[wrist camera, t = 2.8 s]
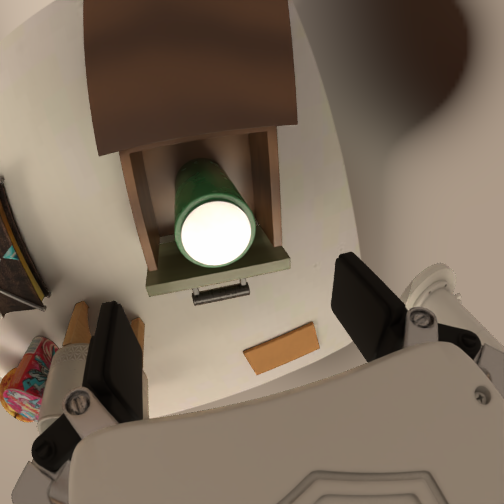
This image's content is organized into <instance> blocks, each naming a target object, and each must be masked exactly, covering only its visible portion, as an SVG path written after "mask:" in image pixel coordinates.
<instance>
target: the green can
mask: <svg viewBox="0 0 504 504" xmlns="http://www.w3.org/2000/svg"><path fill="white" fill-rule="evenodd" d="M255 234H256V222H255V218H254V215H253V213H252V211H251V209H250V208H249V206H248V205H247V203H246V202H245V200H244V199H243V197H242V196H241V194H240V193H239V191H238V190H237V188H236V187H235V186H234V184H233V183H232V181H231V180H230V178H229V177H228V175H227V174H226V172H225V171H224V169H223V168H222V167H221V166H220V165H219V164H218V163H217V162H215V161H214V160H211V159H208V158H196V159H193V160H190V161H188V162H187V163H185V164H184V165H183V166H182V167H181V168H180V170H179V171H178V173H177V175H176V179H175V207H174V236H175V241H176V244H177V247H178V249H179V250H180V252H181V253H182V254H183V256H184V257H185V258H187V259H188V260H189V261H191V262H192V263H194V264H196V265H199V266H202V267H208V268H217V267H223V266H227V265H229V264H232V263H234V262H236V261H237V260H239V259H240V258H241V257H242V256H244V255H245V253H246V252H247V251H248V250H249V248H250V247H251V245H252V243H253V241H254V238H255Z"/></svg>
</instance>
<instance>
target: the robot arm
mask: <svg viewBox="0 0 504 504" xmlns="http://www.w3.org/2000/svg"><path fill="white" fill-rule="evenodd" d="M450 290H451V289H450V285H449V283H448V282H447V281H445V280H439V281H436V282H434V283H433V284H431V285H430V286H428V287H427V288H426V289H425V290H424V291H423V292H422V293H421V294H420V296H419V297H418V298H417V300H416V301H415V303H414V305H413V307H412V308H411V309H409V310H407V308H406V307H405V306H406V305H405V304H404V303H403V302H402V301H401V300H400V299H399V298H398V297H397V296H396V295H395V294H394V293H393V292H392V291H391V290H390V289H389V288H388V287H387V286H386V285H385V284H384V282H383V281H382V280H380V278H379V277H378V276H377V275H375V274H374V272H373V271H372V270H371V269H369V267H367V266H366V264H364V263H363V262H362V261H361V260H360V259H359V258H358V257H357V256H356V255H355V254H354V253H353V252H348V253H344V254H340V255H339V258H337V259H336V262H335V273H334V282H333V291H332V300H331V308H332V311H333V313H334V314H335V315H336V317H337V318H338V320H339V321H340V323H341V324H342V326H343V327H344V328H345V330H346V331H347V333H348V334H349V336H350V337H351V339H352V340H353V342H354V343H355V344H356V346H357V347H358V349H359V350H360V352H361V353H362V355H363V356H364V358H365V359H366V361H367V362H368V363H365V364H363V365H360V366H358V367H356V368H353V369H350V370H347V371H345V372H342V373H339V374H336V375H334V376H331V377H328V378H325V379H322V380H319V381H316V382H313V383H310V384H307V385H303V386H300V387H297V388H294V389H290V390H287V391H283V392H280V393H277V394H273V395H269V396H266V397H262V398H258V399H254V400H250V401H245V402H241V403H237V404H232V405H228V406H223V407H219V408H213V409H208V410H203V411H197V412H191V413H186V414H179V415H173V416H167V417H160V418H152V419H144V420H143V393H142V363H143V353H142V348H141V346H140V344H139V342H138V340H137V338H136V336H135V334H134V331H133V329H132V327H131V325H130V323H129V321H128V319H127V316H126V314H125V312H124V310H123V308H122V305H121V304H117V303H116V301H111V302H105V303H102V305H101V309H100V313H99V318H98V322H97V327H96V331H95V336H92V337H91V339H90V343H89V348H88V353H87V358H86V364H85V369H84V375H83V382H82V387H76V388H73V389H71V390H70V391H68V392H67V393H66V395H65V396H64V398H63V401H62V410H63V412H64V413H63V414H62V415H61V416H60V417H59V418H58V419H57V420H56V421H55V422H54V423H52V424H51V425H50V426H49V427H48V428H47V429H46V430H45V431H44V432H43V433H42V434H41V435H40V436H39V437H38V438H37V439H36V440H35V441H34V443H33V445H32V457H33V460H32V462H30V461H28V463H27V465H26V466H25V468H24V470H23V472H22V474H21V476H20V477H19V479H18V481H17V483H16V485H15V487H14V489H13V492H12V502H13V504H504V346H503V345H502V344H500V343H499V342H498V340H497V339H496V338H494V337H493V336H492V335H491V334H490V332H489V331H488V330H487V329H486V328H485V327H484V326H483V325H482V324H481V323H480V322H479V321H478V320H477V319H476V318H475V317H474V316H473V315H472V314H471V313H470V312H469V311H468V310H467V309H465V308H464V307H463V306H462V305H461V300H460V298H461V294H460V293H458V294H456V295H453V294H452V293H451V292H450Z"/></svg>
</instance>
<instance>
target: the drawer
mask: <svg viewBox="0 0 504 504" xmlns="http://www.w3.org/2000/svg"><path fill="white" fill-rule="evenodd" d="M119 155H120V160H121V165H122V170H123V175H124V179H125V184H126V188H127V193H128V197H129V201H130V205H131V209H132V213H133V217H134V221H135V225H136V228H137V232H138V236H139V239H140V243H141V246H142V250H143V253H144V257H145V260H146V263H147V267H148V270H147V278H146V289H147V292H148V295H149V297H151V296H156V295H162V294H167V293H172V292H178V291H183V290H188V289H192V290H193V293H192V298H193V303H194V305H195V306H196V305H202V304H207V303H212V302H217V301H222V300H226V299H231V298H236V297H241V296H245V295H249V294H250V290H249V285H248V283H247V282H246V278H248V277H253V276H258V275H262V274H267V273H272V272H276V271H281V270H286V269H290V257H289V255H288V254H287V252H286V251H285V250H284V248H283V247H282V227H281V202H280V180H279V160H278V142H277V126H269V127H257V128H247V129H238V130H230V131H222V132H215V133H208V134H201V135H195V136H189V137H183V138H177V139H172V140H167V141H162V142H157V143H152V144H147V145H143V146H138V147H134V148H130V149H126V150H122V151H119ZM196 158H208V159H211V160H214V161H215V162H217V163H218V164H219V165H220V166H221V167H222V168H223V169H224V171H225V172H226V174H227V175H228V177H229V178H230V180H231V181H232V183H233V184H234V186H235V187H236V188H237V190H238V191H239V193H240V194H241V196H242V197H243V199H244V200H245V202H246V203H247V205H248V206H249V208H250V209H251V211H252V213H253V215H254V218H255V219H256V220H257V222H258V224H259V226H256V234H255V238H254V241H253V243H252V245H251V247H250V248H249V250H248V251H247V252H246V253H245V255H244V256H242V257H241V258H240V259H239V260H237V261H236V262H234V263H232V264H229V265H227V266H223V267H217V268H208V267H202V266H199V265H196V264H194V263H192V262H191V261H189V260H188V259H187V258H185V257H184V256H183V254H182V253H181V252H180V250H179V249H178V247H177V244H176V241H173V242H168V243H163V244H159V243H160V237H162V236H167V235H172V234H174V207H175V179H176V175H177V173H178V171H179V170H180V168H181V167H182V166H183V165H184V164H185V163H187V162H188V161H190V160H193V159H196ZM238 279H240V283H239V284H234V285H229V286H224V287H219V288H214V289H209V290H204V291H199V289H198V287H203V286H208V285H213V284H218V283H223V282H228V281H233V280H238Z"/></svg>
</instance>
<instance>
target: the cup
mask: <svg viewBox="0 0 504 504" xmlns="http://www.w3.org/2000/svg"><path fill="white" fill-rule="evenodd" d="M58 350H59V349H58V347H57V346H56V345H55V344H54V343H53V342H52V341H51V340H49V339H47V338H44V337H35V338H34V339H33V340H32V342H31V344H30V346H29V347H28V349H27V351H26V353H25V355H24V356H23V358H22V360H21V362H20V364H19V366H18V368H17V370H16V372H15V374H14V376H13V378H12V380H11V382H10V384H9V386H8V388H7V390H5V391H4V393H3V397H4V400H5V401H6V403H7V404H8V405H9V406H10V407H11V408H12V409H13V410H15V411H16V412H17V413H19V414H20V415H22V416H24V417H26V418H28V419H30V420H33V421H36V422H38V417H39V412H40V407H41V402H42V397H43V393H44V389H45V385H46V381H47V377H48V373H49V369H50V365H51V362H52V358H53V356H54V354H55V352H57V351H58Z"/></svg>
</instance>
